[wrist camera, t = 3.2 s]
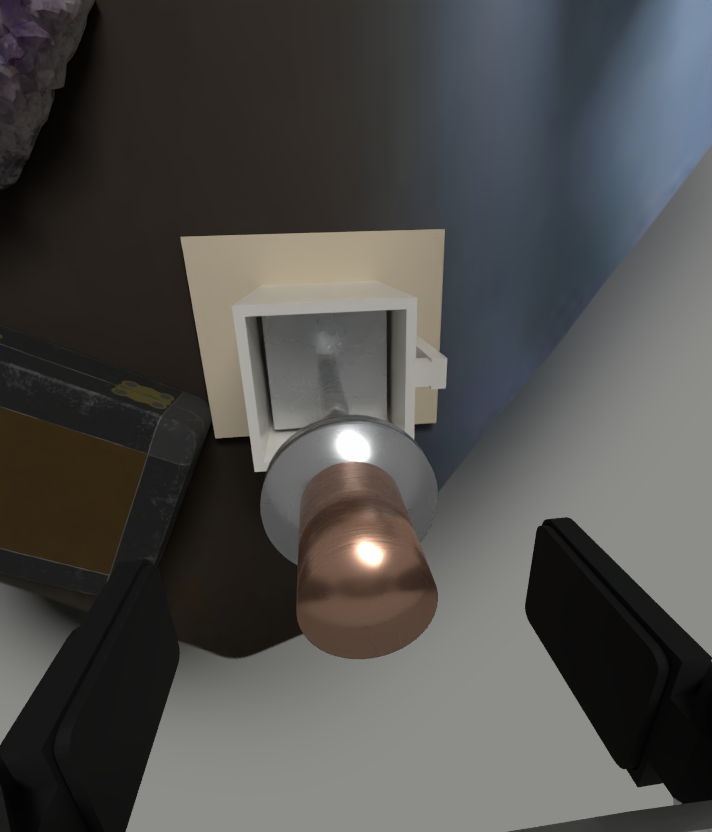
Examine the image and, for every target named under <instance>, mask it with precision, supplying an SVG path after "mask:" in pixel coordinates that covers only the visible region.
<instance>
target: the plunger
mask: <svg viewBox="0 0 712 832" xmlns="http://www.w3.org/2000/svg"><path fill="white" fill-rule="evenodd" d="M262 324H263V333H264V342H265V351H266V360H267V368H268V377H269V386H270V395H271V404H272V412H273V421H274V430H279V429H293V428H302V429H300V430H299V431H297V432H296V433H295V434H293V435H292V436H291V437H290V438H288V439H287V440H286V441H285V442H284V443H283V444H282V445H281V447H280V448H279V449H278V450H277V452H276V453H275V455H274V456H273V458H272V460H271V461H270V464H269V466H268V468H267V471H266V475H265V478H264V483H263V488H262V493H261V502H260V508H261V518H262V522H263V526H264V528H265V531H266V533H267V535H268V537H269V539H270V540H271V542H272V544H273V545H274V546H275V547H276V549H277V550H278V551H279V552H280V553H281V554H282V555H283V556H284V557H286V558H287V559H288V560H290V561H291V562H292V563H294V564H296V565H297V566H298V578H297V620H298V624H299V626H300V629H301V631H302V632H303V634H304V635H305V636H306V637H307V639H308V640H309V641H310V642H311V643H312V644H313V645H315V646H316V647H318V648H319V649H320V650H322V651H325V652H326V653H329V654H332V655H334V656H338V657H342V658H349V659H367V658H374V657H380V656H384V655H387V654H390V653H393V652H395V651H397V650H399V649H402V648H403V647H405V646H407V645H408V644H410V643H411V642H413V641H414V640H415V639H416V638H418V637H419V636H420V635H421V634H422V633H423V632H424V631H425V629H426V628H427V627H428V625H429V624H430V622H431V621H432V619H433V617H434V615H435V612H436V608H437V602H438V593H437V588H436V584H435V582H434V579H433V577H432V574H431V571H430V569H429V566H428V564H427V561H426V558H425V556H424V553H423V551H422V548H421V546H420V542H421V541H422V539H423V538H424V537H425V536H426V534H427V532H428V530H429V529H430V527H431V525H432V522H433V520H434V517H435V514H436V510H437V504H438V487H437V482H436V478H435V475H434V472H433V469H432V468H431V466H430V464H429V462H428V460H427V458H426V457H425V455H424V453H423V451H422V450H421V448H420V447H419V446H418V444H417V443H416V442H415V441H414V440H413V439H412V438H411V437H410V436H409V435H408V434H407V433H406V432H404V431H403V430H402V429H400V428H399V427H397V426H395V425H393V424H392V423H390V422H387V327H386V310H379V311H357V312H336V313H314V314H292V315H271V316H262Z"/></svg>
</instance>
